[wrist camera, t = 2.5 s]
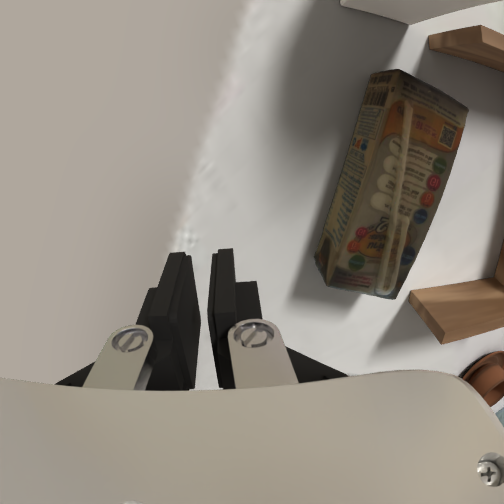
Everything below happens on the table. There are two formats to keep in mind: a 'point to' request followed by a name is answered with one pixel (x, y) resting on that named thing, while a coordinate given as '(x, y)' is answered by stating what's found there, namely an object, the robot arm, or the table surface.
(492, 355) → the cup and saucer
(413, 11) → the milk carton
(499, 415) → the teal cup
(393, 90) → the beverage carton
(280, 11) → the table surface
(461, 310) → the frame
